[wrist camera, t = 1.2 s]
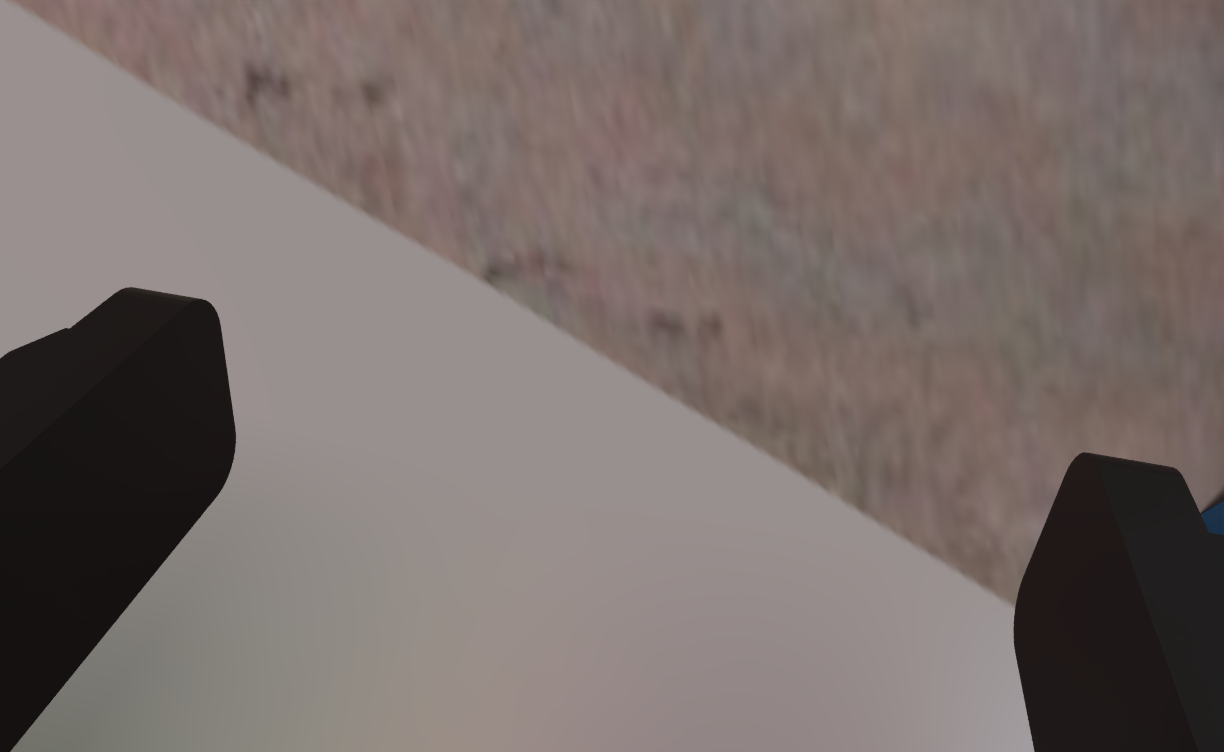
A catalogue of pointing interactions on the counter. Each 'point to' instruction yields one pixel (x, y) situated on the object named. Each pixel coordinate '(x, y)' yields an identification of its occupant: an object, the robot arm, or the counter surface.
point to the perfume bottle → (1215, 519)
